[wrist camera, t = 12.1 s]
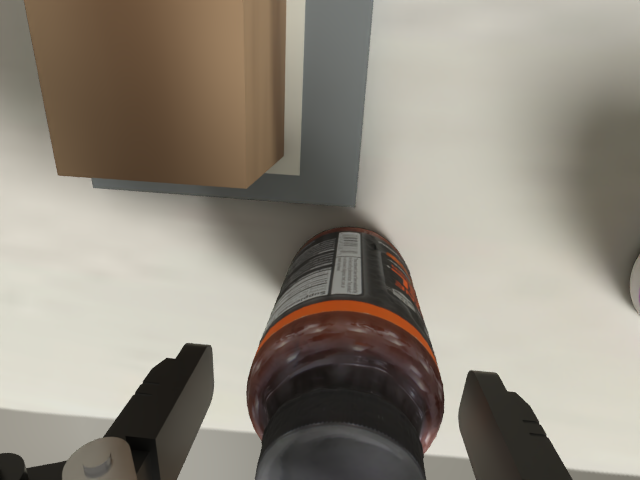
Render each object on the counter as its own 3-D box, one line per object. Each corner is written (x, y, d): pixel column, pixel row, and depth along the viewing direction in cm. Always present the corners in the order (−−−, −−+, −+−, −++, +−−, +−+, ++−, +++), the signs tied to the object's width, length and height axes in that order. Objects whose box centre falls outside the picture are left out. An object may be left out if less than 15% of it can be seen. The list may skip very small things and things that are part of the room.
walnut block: (287, -76, 13) (239, -197, 8) (283, 156, 16) (246, 188, 11) (135, -80, 14) (-15, -199, 8) (157, 148, 17) (58, 175, 11)
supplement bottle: (427, 305, 19) (512, 555, 9) (322, 344, 21) (287, 600, 10) (379, 201, 18) (414, 357, 7) (268, 251, 19) (162, 443, 9)
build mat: (384, -129, 14) (386, -147, 13) (355, 201, 18) (355, 207, 17) (59, -136, 14) (36, -154, 13) (106, 183, 19) (91, 188, 18)
